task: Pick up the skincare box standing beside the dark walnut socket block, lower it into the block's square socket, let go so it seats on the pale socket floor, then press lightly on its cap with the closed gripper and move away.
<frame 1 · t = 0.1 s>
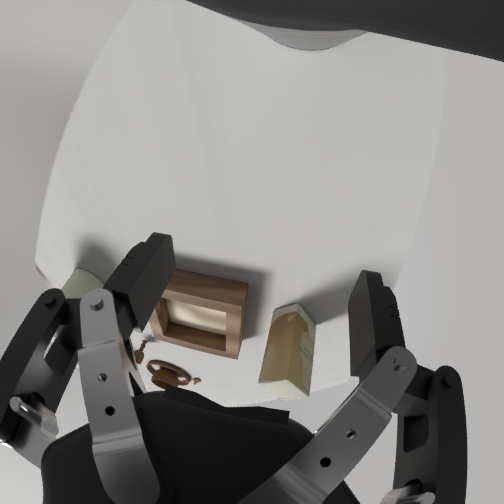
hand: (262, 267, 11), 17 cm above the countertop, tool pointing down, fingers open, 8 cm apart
socket block: (198, 305, 43), on the countertop
place setting: (170, 363, 64), on the countertop
can: (91, 285, 48), on the countertop
skincare box: (295, 316, 41), on the countertop
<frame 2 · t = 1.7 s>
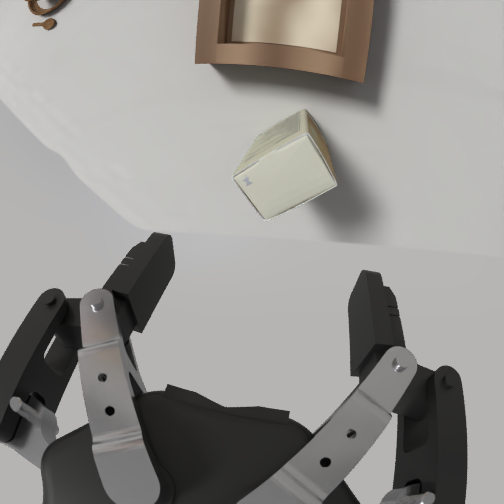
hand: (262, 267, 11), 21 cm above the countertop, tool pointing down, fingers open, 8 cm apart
socket block: (288, 3, 18), on the countertop
skincare box: (293, 137, 28), on the countertop
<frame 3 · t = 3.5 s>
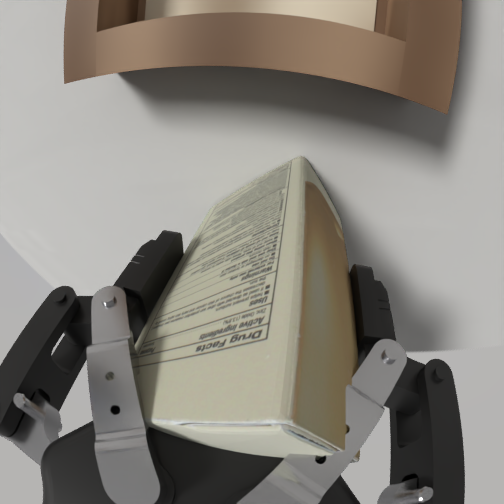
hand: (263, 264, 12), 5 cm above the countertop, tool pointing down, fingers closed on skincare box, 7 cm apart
skincare box: (277, 209, 15), on the countertop, touching gripper
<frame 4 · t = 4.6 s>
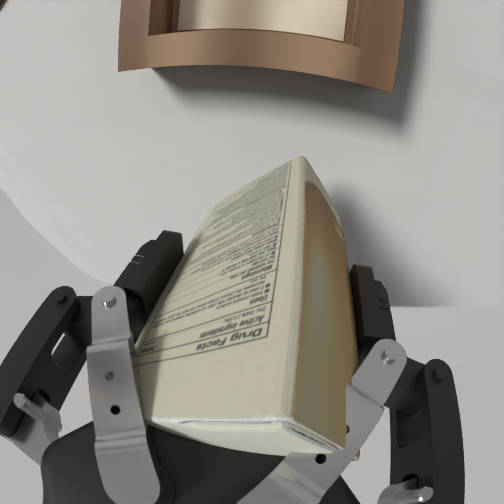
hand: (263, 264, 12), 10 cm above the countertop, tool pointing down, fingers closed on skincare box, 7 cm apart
skincare box: (277, 208, 15), point 5 cm above the countertop, touching gripper
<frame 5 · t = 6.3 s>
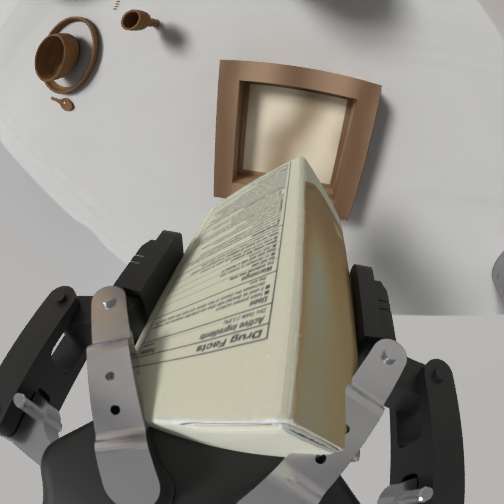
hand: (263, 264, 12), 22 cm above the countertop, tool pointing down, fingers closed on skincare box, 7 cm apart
socket block: (293, 132, 28), on the countertop
place setting: (91, 57, 25), on the countertop
skincare box: (277, 209, 15), point 17 cm above the countertop, touching gripper
when the fingers open (6 cm above the countertop, at t = 9.5 s): skincare box stays where it is, resting on socket block.
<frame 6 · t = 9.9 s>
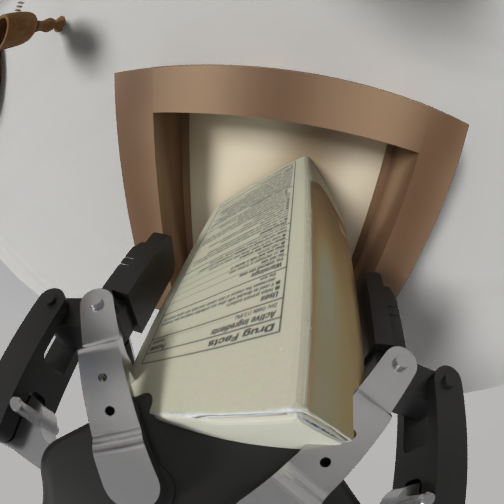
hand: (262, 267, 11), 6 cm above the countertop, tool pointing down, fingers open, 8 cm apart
socket block: (278, 199, 16), on the countertop
skincare box: (281, 208, 15), point 1 cm above the countertop, touching socket block
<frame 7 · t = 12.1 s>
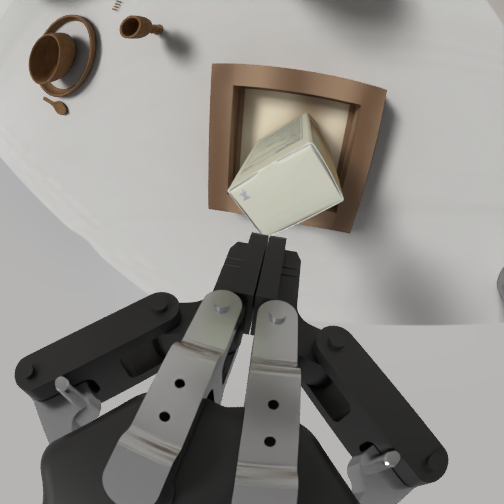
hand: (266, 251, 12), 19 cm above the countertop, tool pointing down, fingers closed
socket block: (292, 139, 27), on the countertop
place setting: (88, 59, 24), on the countertop
skincare box: (294, 142, 26), point 1 cm above the countertop, touching socket block
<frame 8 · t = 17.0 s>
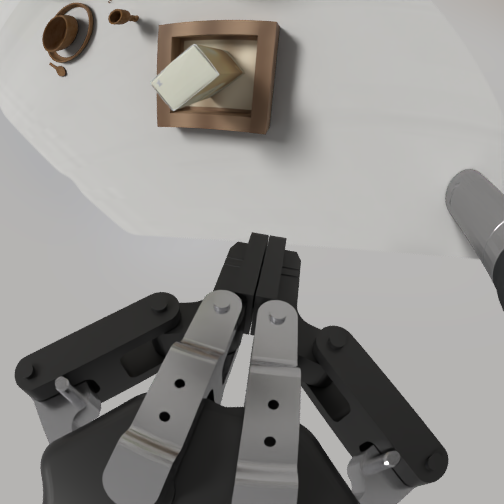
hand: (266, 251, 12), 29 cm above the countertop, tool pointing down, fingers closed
socket block: (219, 73, 32), on the countertop
place setting: (86, 37, 29), on the countertop
skincare box: (219, 73, 31), point 1 cm above the countertop, touching socket block
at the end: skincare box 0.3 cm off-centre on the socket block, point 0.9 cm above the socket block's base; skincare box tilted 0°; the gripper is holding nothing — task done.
